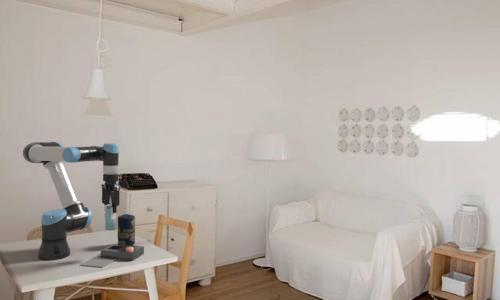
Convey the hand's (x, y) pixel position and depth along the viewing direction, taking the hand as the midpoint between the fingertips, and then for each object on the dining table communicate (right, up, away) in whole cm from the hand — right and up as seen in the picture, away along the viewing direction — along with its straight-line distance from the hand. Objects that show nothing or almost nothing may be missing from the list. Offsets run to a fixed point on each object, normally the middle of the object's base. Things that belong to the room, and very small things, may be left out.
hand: (110, 218), depth 209 cm
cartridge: (0, -6, 0) cm, 6 cm away
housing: (+5, -20, +4) cm, 21 cm away
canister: (+1, -20, +23) cm, 30 cm away
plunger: (+10, -20, +1) cm, 22 cm away
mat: (-3, -21, -8) cm, 22 cm away
